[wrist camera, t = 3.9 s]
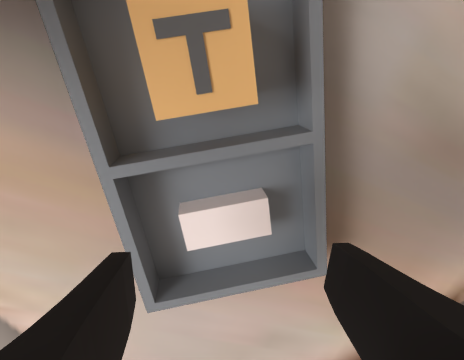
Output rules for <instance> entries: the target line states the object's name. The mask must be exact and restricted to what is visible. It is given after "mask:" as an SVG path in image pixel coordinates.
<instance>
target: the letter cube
mask: <svg viewBox="0 0 464 360" xmlns="http://www.w3.org/2000/svg"><path fill="white" fill-rule="evenodd" d="M126 2H127V6H128V10H129V14H130V18H131V22H132V26H133V30H134V34H135V38H136V42H137V46H138V50H139V54H140V58H141V62H142V66H143V70H144V74H145V78H146V82H147V86H148V90H149V94H150V98H151V102H152V106H153V110H154V114H155V118H156V121H158V120H164V119H170V118H176V117H182V116H188V115H194V114H200V113H206V112H212V111H218V110H224V109H230V108H236V107H242V106H248V105H254V104H258V96H257V86H256V77H255V67H254V58H253V48H252V39H251V30H250V20H249V11H248V1H247V0H126Z"/></svg>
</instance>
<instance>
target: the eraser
mask: <svg viewBox="0 0 464 360" xmlns="http://www.w3.org/2000/svg"><path fill="white" fill-rule="evenodd" d="M178 216H179V220H180V224H181V228H182V232H183V236H184V240H185V244H186V248H187V251H191V250H196V249H201V248H206V247H211V246H216V245H221V244H226V243H231V242H236V241H241V240H246V239H251V238H256V237H261V236H266V235H271V234H272V231H271V222H270V213H269V203H268V197H267V196H266V194H265V192H264V191H263V189H262V188H257V189H252V190H246V191H241V192H236V193H230V194H225V195H220V196H214V197H209V198H204V199H198V200H193V201H188V202H182V203H180V205H179V213H178Z"/></svg>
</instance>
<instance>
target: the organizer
mask: <svg viewBox="0 0 464 360" xmlns="http://www.w3.org/2000/svg"><path fill="white" fill-rule="evenodd" d="M35 1H36V3H37V6H38V9H39V12H40V15H41V17H42V20H43V23H44V26H45V29H46V31H47V34H48V37H49V40H50V43H51V45H52V48H53V51H54V54H55V56H56V59H57V62H58V65H59V68H60V70H61V73H62V76H63V79H64V82H65V84H66V87H67V90H68V93H69V96H70V98H71V101H72V104H73V107H74V109H75V112H76V115H77V118H78V121H79V123H80V126H81V129H82V132H83V135H84V137H85V140H86V143H87V146H88V149H89V151H90V154H91V157H92V160H93V163H94V165H95V168H96V171H97V174H98V176H99V179H100V182H101V185H102V188H103V190H104V193H105V196H106V199H107V202H108V204H109V207H110V210H111V213H112V216H113V218H114V221H115V224H116V227H117V230H118V232H119V235H120V238H121V241H122V243H123V246H124V249H125V252H131V259H132V268H133V274H134V277H135V280H136V283H137V285H138V288H139V291H140V294H141V296H142V299H143V302H144V305H145V308H146V310H147V313H150V312H155V311H160V310H164V309H169V308H174V307H179V306H183V305H188V304H193V303H197V302H202V301H207V300H212V299H216V298H221V297H226V296H230V295H235V294H240V293H244V292H249V291H254V290H259V289H263V288H268V287H273V286H277V285H282V284H287V283H292V282H296V281H301V280H306V279H310V278H315V277H320V276H324V275H326V274H327V241H326V181H325V120H324V60H323V0H247V1H248V11H249V20H250V30H251V39H252V48H253V58H254V67H255V77H256V86H257V96H258V104H254V105H248V106H242V107H236V108H230V109H224V110H218V111H212V112H206V113H200V114H194V115H188V116H182V117H176V118H170V119H164V120H158V121H156V118H155V114H154V110H153V106H152V102H151V98H150V94H149V90H148V86H147V82H146V78H145V74H144V70H143V66H142V62H141V58H140V54H139V50H138V46H137V42H136V38H135V34H134V30H133V26H132V22H131V18H130V14H129V10H128V6H127V2H126V0H35ZM257 188H262V189H263V191H264V192H265V194H266V196H267V197H268V203H269V213H270V222H271V231H272V234H271V235H266V236H261V237H256V238H251V239H246V240H241V241H236V242H231V243H226V244H221V245H216V246H211V247H206V248H201V249H196V250H191V251H187V248H186V244H185V240H184V236H183V232H182V228H181V224H180V220H179V216H178V213H179V205H180V203H182V202H188V201H193V200H198V199H204V198H209V197H214V196H220V195H225V194H230V193H236V192H241V191H246V190H252V189H257Z"/></svg>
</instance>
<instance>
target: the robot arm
mask: <svg viewBox="0 0 464 360" xmlns="http://www.w3.org/2000/svg"><path fill="white" fill-rule="evenodd" d="M324 289H325V292H326V294H327V297H328V299H329V302H330V304H331V306H332V308H333V310H334V313H335V315H336V316H337V318H338V320H339V322H340V324H341V325H342V327H343V329H344V330H345V332H346V334H347V336H348V337H349V339H350V341H351V342H352V344H353V346H354V348H355V349H356V351H357V353H358V354H359V356H360V358H361V359H362V360H464V305H462V304H460V303H458V302H456V301H454V300H452V299H450V298H448V297H446V296H444V295H442V294H440V293H438V292H436V291H434V290H432V289H431V288H429V287H427V286H425V285H423V284H421V283H419V282H418V281H416V280H414V279H412V278H410V277H409V276H407V275H405V274H403V273H402V272H400V271H398V270H396V269H395V268H393V267H391V266H389V265H388V264H386V263H384V262H382V261H381V260H379V259H377V258H376V257H374V256H372V255H370V254H369V253H367V252H365V251H363V250H361V249H360V248H358V247H356V246H354V245H352V244H350V243H333V245H332V249H331V254H330V259H329V264H328V269H327V274H326V279H325V283H324ZM135 302H136V295H135V286H134V277H133V268H132V259H131V252H115V253H111V254H110V255H109V256H108V257H107V258H105V259H104V260H103V261H102V262H101V263H100V264H99V265H98V266H97V267H96V268H95V269H94V270H93V271H92V272H91V273H90V274H89V275H88V276H87V277H86V278H85V279H84V280H83V281H82V282H81V283H79V284H78V285H77V286H76V287H75V288H74V289H73V290H72V291H71V292H70V293H69V294H68V295H67V296H65V297H64V298H63V299H62V300H61V301H60V302H59V303H58V304H57V305H55V306H54V307H53V308H52V309H51V310H50V311H48V312H47V313H46V314H45V315H44V316H43V317H41V318H40V319H39V320H38V321H37V322H36V323H34V324H33V325H32V326H31V327H30V328H28V329H27V330H26V331H25V332H23V333H22V334H21V335H20V336H18V337H17V338H16V339H15V340H13V341H12V342H11V343H9V344H8V345H7V346H5V347H4V348H3V349H2V350H0V360H122V357H123V353H124V350H125V347H126V343H127V340H128V337H129V333H130V330H131V324H132V319H133V314H134V308H135Z"/></svg>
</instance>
